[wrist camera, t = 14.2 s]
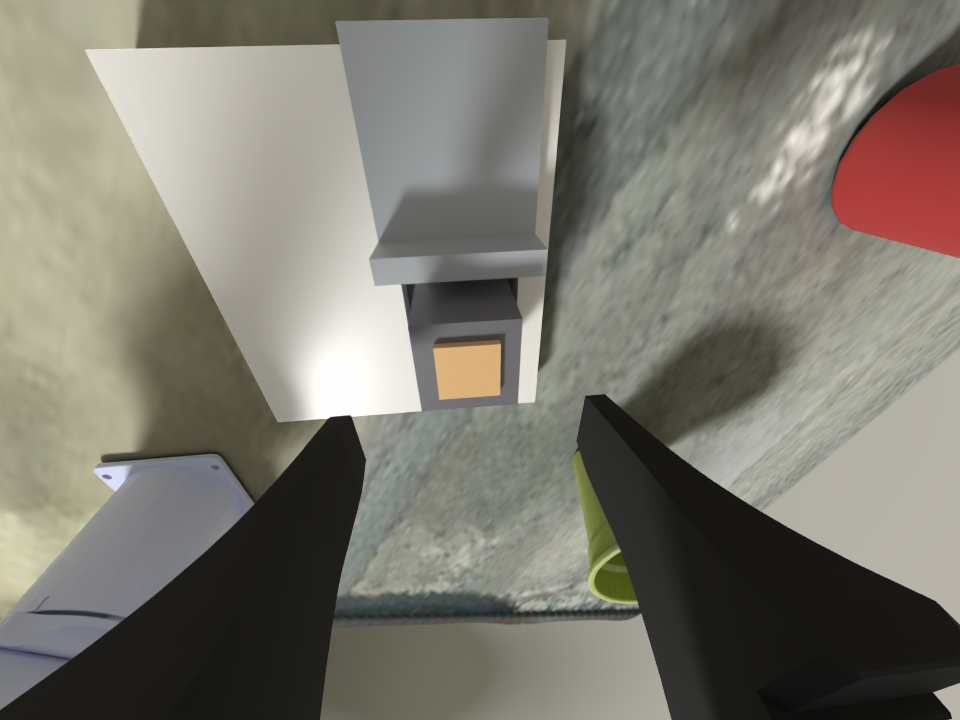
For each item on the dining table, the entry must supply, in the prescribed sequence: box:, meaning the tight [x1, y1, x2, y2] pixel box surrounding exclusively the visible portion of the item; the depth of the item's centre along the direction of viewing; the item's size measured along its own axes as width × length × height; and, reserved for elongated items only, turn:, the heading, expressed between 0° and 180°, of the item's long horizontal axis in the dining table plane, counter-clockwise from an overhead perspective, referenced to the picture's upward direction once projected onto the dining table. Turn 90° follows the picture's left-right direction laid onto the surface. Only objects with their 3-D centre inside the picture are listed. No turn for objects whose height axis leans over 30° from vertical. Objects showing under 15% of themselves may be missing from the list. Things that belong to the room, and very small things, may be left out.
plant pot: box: [573, 451, 638, 604], centre depth 24 cm, size 9×9×9 cm
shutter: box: [335, 17, 549, 286], centre depth 12 cm, size 7×6×3 cm
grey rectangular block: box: [408, 278, 523, 411], centre depth 15 cm, size 4×4×6 cm
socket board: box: [85, 40, 566, 422], centre depth 16 cm, size 16×15×2 cm
